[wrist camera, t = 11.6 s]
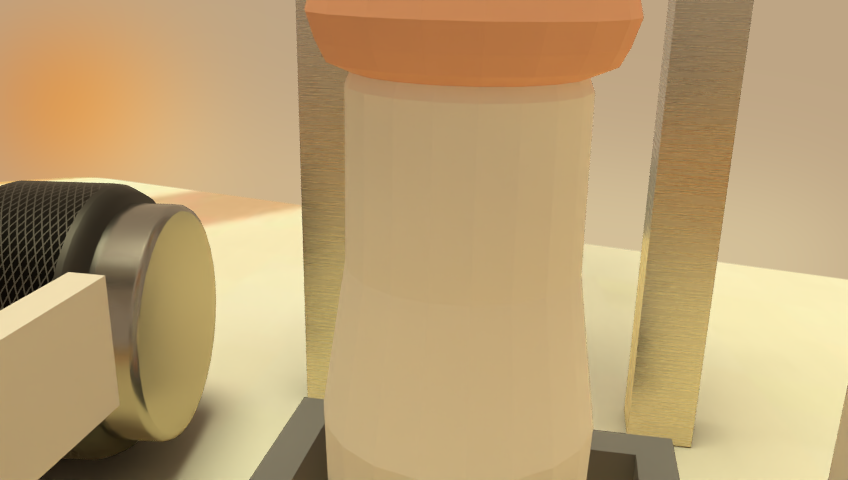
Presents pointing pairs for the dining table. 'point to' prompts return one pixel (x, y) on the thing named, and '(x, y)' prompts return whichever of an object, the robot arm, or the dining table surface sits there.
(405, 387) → the pepper shaker
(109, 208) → the muzzle brake
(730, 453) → the dining table surface
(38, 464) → the robot arm
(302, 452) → the grey shallow square frame
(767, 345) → the dining table surface
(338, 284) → the frame
